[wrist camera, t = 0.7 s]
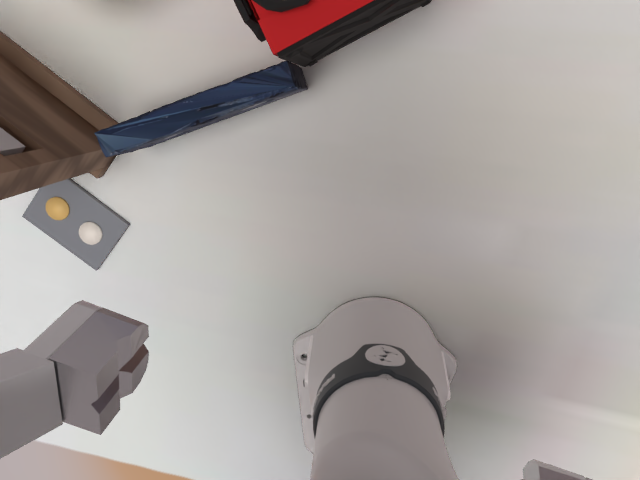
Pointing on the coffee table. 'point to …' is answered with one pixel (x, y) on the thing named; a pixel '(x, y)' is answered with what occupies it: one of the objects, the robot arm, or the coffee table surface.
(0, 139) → the off-white rectangular block
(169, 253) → the coffee table surface
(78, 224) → the card
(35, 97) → the panel
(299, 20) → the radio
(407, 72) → the coffee table surface
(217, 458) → the coffee table surface
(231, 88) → the vhs cassette tape
